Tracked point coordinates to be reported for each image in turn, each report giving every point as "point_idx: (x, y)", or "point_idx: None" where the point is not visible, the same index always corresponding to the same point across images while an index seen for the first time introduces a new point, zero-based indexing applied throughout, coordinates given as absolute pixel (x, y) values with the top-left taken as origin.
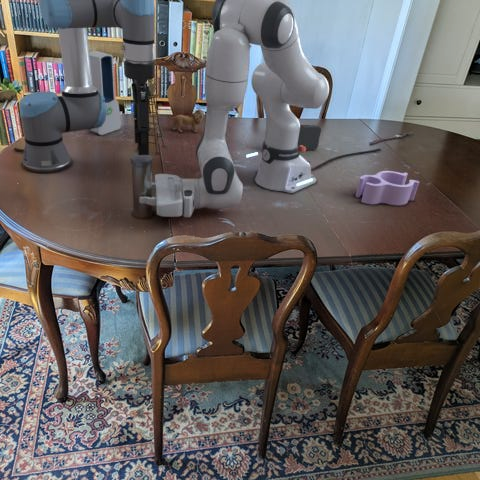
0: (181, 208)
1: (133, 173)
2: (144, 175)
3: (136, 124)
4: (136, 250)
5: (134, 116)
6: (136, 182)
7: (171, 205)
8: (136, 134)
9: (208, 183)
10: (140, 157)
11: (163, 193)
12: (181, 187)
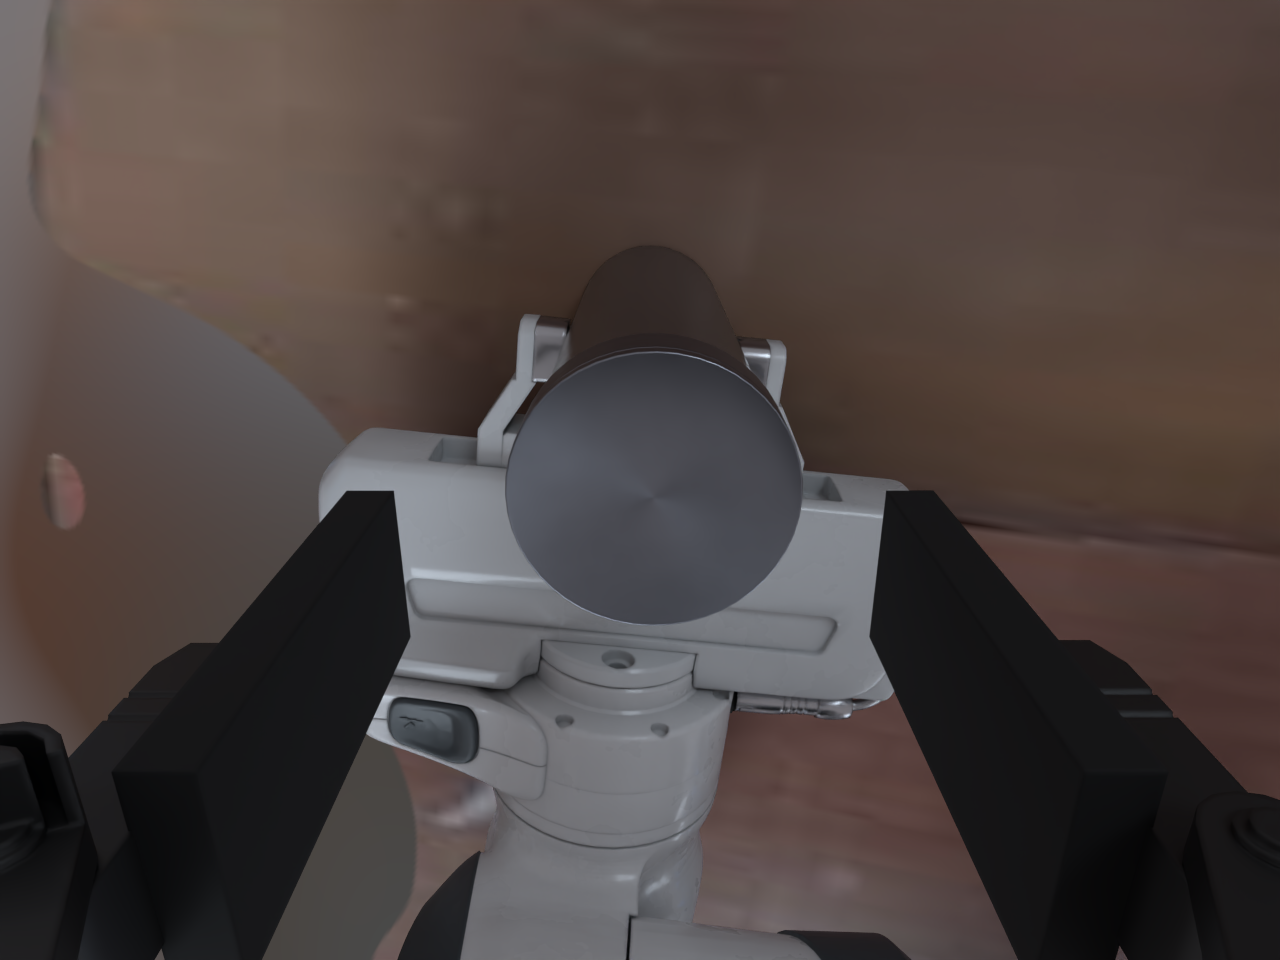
0: None
1: (603, 327)
2: None
3: (1019, 733)
4: (148, 214)
5: (1257, 843)
6: (571, 334)
7: None
8: (933, 591)
9: (426, 925)
10: (646, 483)
11: None
12: (571, 695)
